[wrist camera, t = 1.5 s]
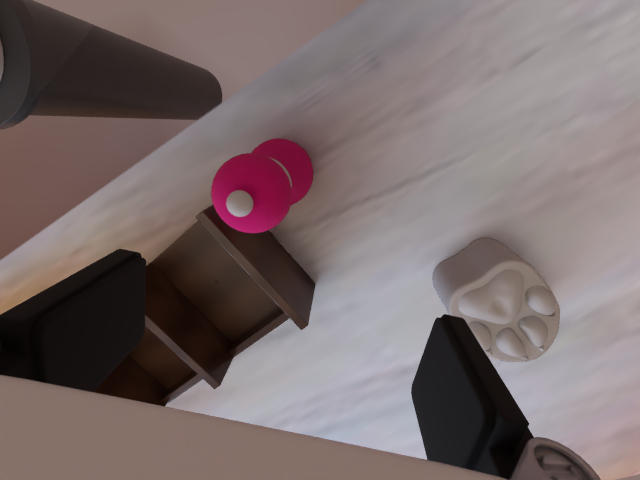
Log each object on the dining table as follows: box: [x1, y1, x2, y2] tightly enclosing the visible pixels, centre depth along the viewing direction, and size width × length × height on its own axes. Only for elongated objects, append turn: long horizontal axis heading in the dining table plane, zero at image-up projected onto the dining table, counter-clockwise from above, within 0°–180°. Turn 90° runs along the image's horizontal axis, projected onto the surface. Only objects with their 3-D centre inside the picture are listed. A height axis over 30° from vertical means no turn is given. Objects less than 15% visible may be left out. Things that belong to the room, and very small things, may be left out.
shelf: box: [94, 205, 315, 407], centre depth 43 cm, size 16×28×10 cm, turn 130°
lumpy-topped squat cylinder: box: [433, 238, 560, 362], centre depth 40 cm, size 10×13×9 cm
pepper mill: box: [211, 139, 313, 233], centre depth 31 cm, size 7×7×20 cm
